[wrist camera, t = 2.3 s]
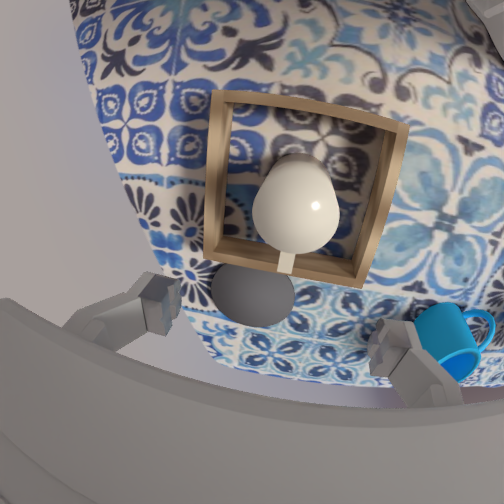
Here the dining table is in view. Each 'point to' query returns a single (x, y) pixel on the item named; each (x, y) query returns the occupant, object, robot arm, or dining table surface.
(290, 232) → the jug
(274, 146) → the dining table surface
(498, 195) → the dining table surface
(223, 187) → the holder
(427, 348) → the mug
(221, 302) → the grey oval disc
